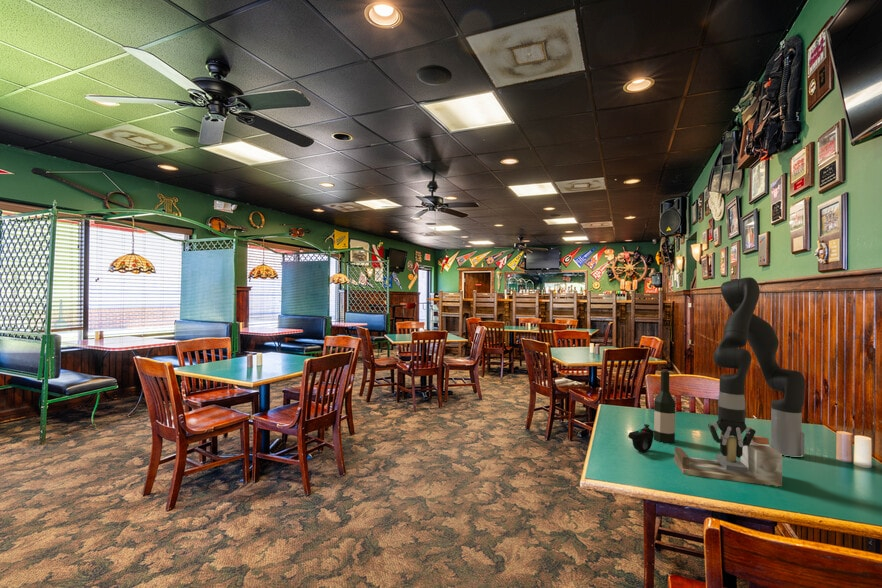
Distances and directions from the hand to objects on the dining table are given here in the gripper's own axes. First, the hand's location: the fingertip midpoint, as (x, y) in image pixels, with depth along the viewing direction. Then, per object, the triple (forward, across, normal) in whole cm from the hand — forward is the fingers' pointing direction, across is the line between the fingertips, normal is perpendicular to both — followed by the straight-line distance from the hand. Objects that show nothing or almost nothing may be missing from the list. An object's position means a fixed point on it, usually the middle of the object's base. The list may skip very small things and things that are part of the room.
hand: (730, 455), depth 138 cm
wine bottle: (+6, +14, -30) cm, 34 cm away
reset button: (-6, -8, 0) cm, 10 cm away
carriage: (+3, 0, 0) cm, 3 cm away
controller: (+6, +26, -12) cm, 29 cm away
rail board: (+6, +2, 0) cm, 6 cm away
